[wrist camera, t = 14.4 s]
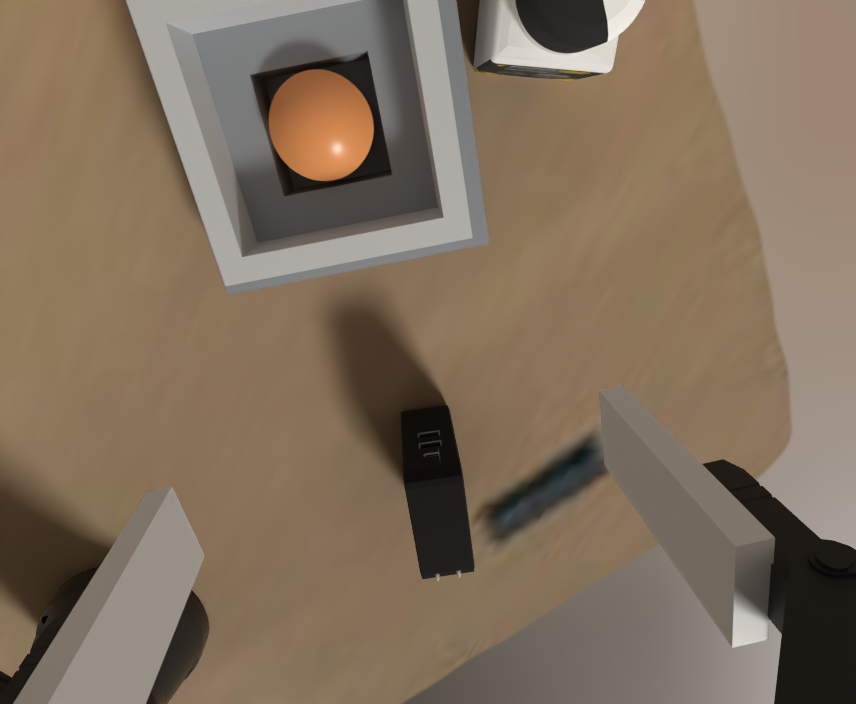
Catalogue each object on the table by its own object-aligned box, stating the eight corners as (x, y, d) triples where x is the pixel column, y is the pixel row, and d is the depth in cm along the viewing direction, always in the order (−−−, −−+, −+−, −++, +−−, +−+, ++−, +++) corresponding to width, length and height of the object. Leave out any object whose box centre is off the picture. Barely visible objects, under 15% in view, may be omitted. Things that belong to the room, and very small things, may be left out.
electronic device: (447, 401, 46) (462, 470, 37) (460, 494, 50) (476, 577, 41) (400, 408, 46) (402, 479, 37) (416, 500, 50) (422, 585, 41)
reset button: (298, 180, 37) (285, 189, 33) (273, 85, 35) (255, 80, 30) (383, 164, 37) (382, 170, 32) (363, 68, 35) (359, 59, 30)
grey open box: (245, 275, 41) (209, 314, 33) (155, 1, 34) (79, -38, 25) (477, 229, 41) (500, 257, 32) (437, -56, 33) (453, -114, 25)
